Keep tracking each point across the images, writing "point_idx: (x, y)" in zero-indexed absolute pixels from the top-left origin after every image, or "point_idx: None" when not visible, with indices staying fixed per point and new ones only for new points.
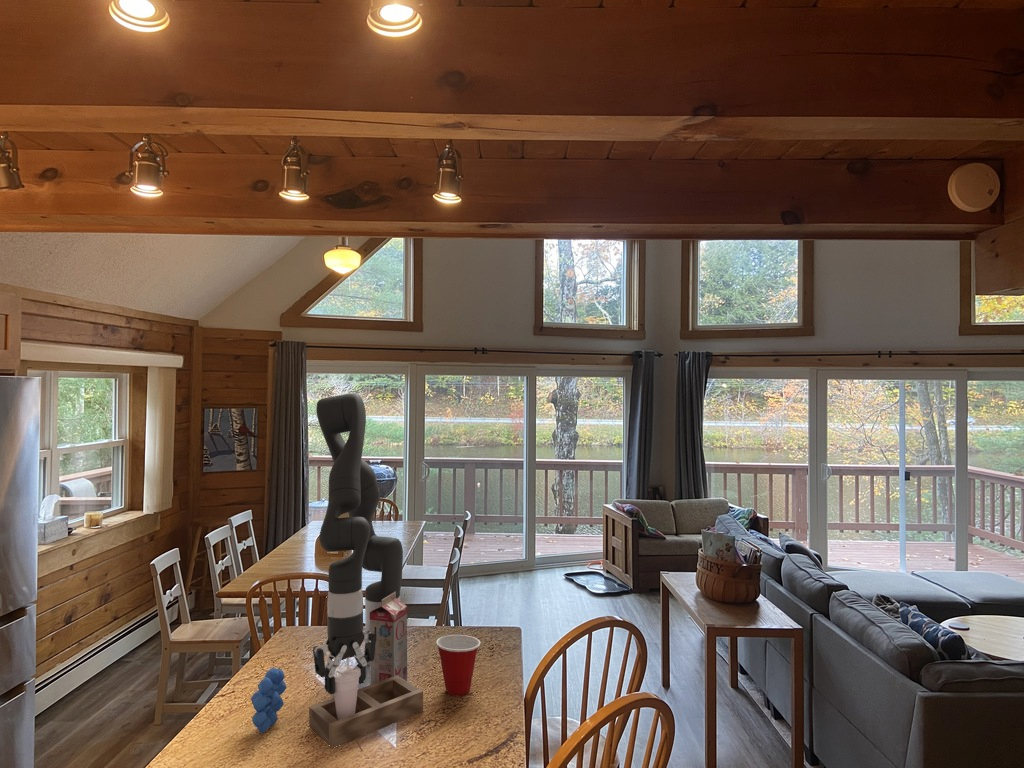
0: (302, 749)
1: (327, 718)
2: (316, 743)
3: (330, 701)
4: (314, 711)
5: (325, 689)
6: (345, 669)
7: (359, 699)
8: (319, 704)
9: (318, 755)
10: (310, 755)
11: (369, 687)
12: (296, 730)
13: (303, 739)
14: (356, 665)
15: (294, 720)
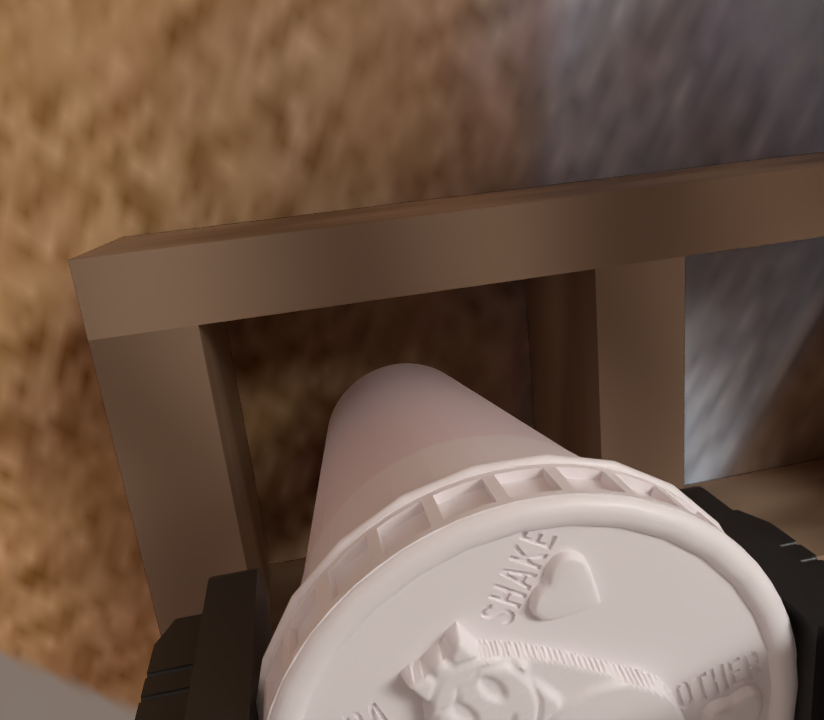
0: (3, 523)
1: (190, 597)
2: (123, 498)
3: (322, 281)
4: (103, 398)
5: (167, 641)
6: (574, 714)
7: (590, 365)
8: (193, 278)
9: (99, 647)
10: (45, 622)
11: (771, 221)
12: (5, 210)
13: (38, 390)
14: (807, 631)
15: (18, 3)
